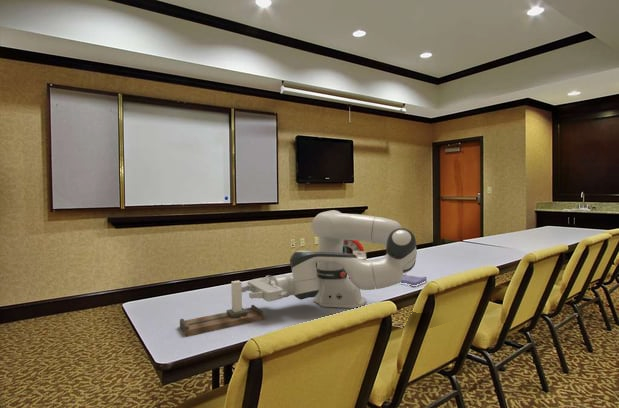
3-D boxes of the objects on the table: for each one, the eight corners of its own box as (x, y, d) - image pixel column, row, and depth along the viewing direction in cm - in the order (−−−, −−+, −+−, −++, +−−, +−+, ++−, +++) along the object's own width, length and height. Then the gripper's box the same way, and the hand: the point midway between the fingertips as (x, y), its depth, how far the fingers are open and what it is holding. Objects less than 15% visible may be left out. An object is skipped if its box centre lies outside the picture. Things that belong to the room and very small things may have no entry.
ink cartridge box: (348, 278, 193) (348, 251, 192) (352, 276, 197) (352, 250, 197) (363, 280, 188) (362, 252, 188) (367, 278, 192) (366, 251, 192)
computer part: (378, 273, 205) (362, 278, 194) (377, 266, 204) (362, 271, 194) (427, 282, 184) (414, 288, 173) (427, 274, 184) (414, 280, 173)
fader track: (253, 311, 142) (252, 304, 142) (263, 319, 134) (263, 311, 134) (179, 326, 128) (179, 318, 127) (186, 336, 119) (186, 327, 119)
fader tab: (241, 310, 138) (241, 278, 137) (247, 314, 132) (246, 282, 132) (226, 313, 134) (225, 281, 134) (232, 318, 129) (231, 284, 129)
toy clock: (329, 271, 211) (328, 237, 210) (331, 269, 216) (331, 236, 215) (362, 273, 204) (362, 238, 203) (364, 271, 209) (364, 237, 209)
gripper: (290, 301, 134) (256, 308, 126) (267, 289, 151) (236, 294, 144) (290, 285, 133) (255, 291, 126) (267, 274, 151) (235, 279, 144)
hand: (245, 292), depth 135 cm, fingers open, 8 cm apart
